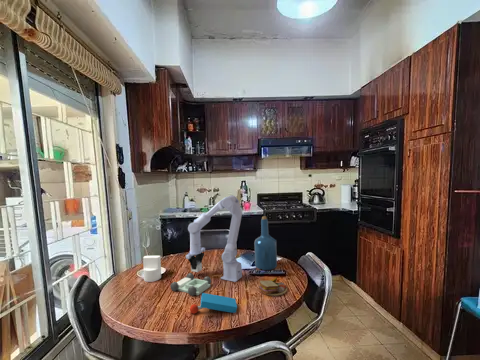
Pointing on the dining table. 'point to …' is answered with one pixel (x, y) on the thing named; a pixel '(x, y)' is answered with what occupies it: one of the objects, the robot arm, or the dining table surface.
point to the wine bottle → (265, 248)
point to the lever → (215, 303)
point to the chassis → (191, 285)
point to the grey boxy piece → (197, 267)
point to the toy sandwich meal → (272, 287)
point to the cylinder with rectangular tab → (152, 268)
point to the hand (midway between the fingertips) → (196, 267)
